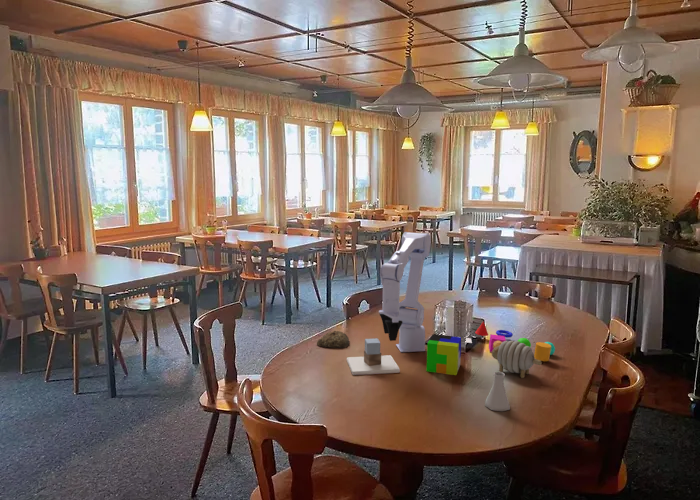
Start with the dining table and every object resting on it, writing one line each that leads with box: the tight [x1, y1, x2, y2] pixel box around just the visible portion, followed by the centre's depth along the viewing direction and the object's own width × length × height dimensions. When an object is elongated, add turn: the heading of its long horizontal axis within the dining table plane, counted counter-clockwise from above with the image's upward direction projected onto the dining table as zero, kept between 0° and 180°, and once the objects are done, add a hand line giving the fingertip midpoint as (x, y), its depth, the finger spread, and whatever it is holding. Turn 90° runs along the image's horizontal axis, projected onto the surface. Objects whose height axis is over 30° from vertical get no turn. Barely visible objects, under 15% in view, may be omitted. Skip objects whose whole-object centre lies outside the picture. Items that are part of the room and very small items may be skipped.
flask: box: [484, 371, 511, 412], centre depth 152 cm, size 7×7×10 cm
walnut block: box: [363, 349, 382, 366], centre depth 182 cm, size 4×4×4 cm
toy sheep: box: [491, 340, 543, 379], centre depth 176 cm, size 11×17×11 cm, turn 55°
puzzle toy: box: [425, 333, 462, 376], centre depth 181 cm, size 10×10×10 cm
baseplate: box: [346, 354, 401, 376], centre depth 182 cm, size 16×13×1 cm
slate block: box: [364, 338, 381, 355], centre depth 181 cm, size 4×4×4 cm
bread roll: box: [316, 330, 351, 349], centre depth 205 cm, size 13×12×5 cm
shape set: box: [464, 321, 556, 362], centre depth 199 cm, size 29×35×7 cm
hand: (390, 336), depth 181 cm, fingers open, 7 cm apart
